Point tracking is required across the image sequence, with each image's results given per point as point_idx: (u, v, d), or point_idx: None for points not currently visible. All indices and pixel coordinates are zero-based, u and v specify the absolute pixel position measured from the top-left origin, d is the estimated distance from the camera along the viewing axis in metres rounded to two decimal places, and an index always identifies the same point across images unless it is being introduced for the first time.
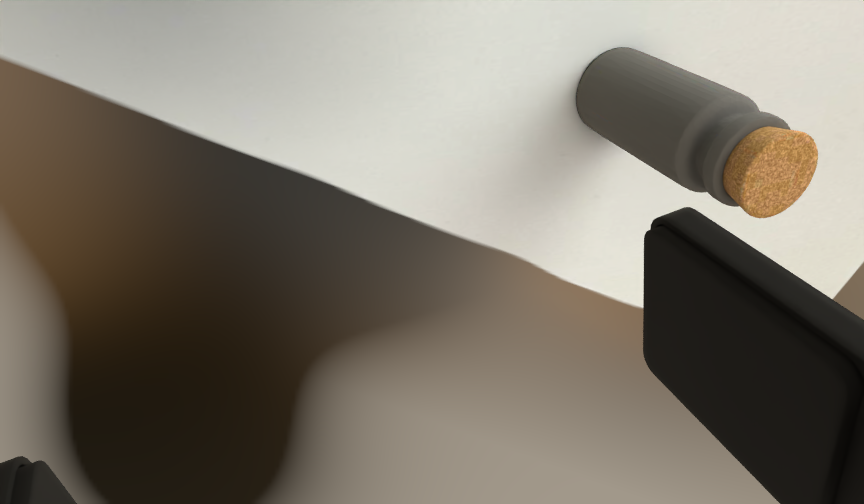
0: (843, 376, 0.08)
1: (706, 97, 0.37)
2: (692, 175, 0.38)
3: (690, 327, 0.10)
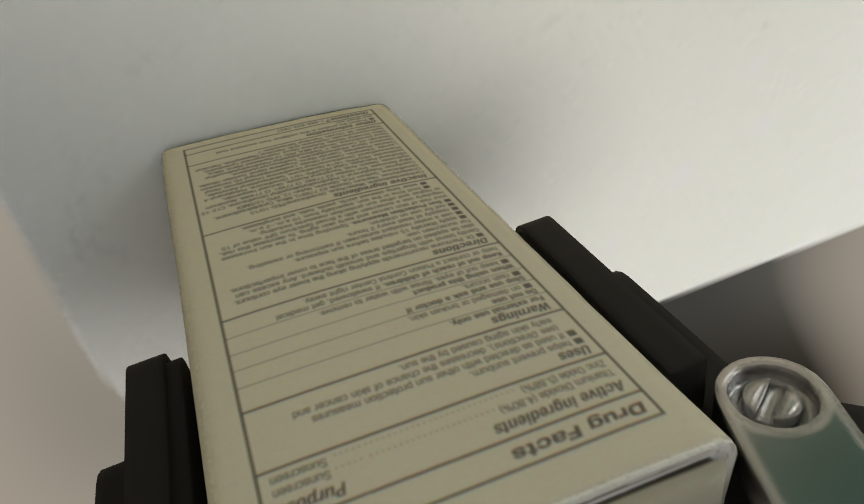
0: None
1: None
2: None
3: None
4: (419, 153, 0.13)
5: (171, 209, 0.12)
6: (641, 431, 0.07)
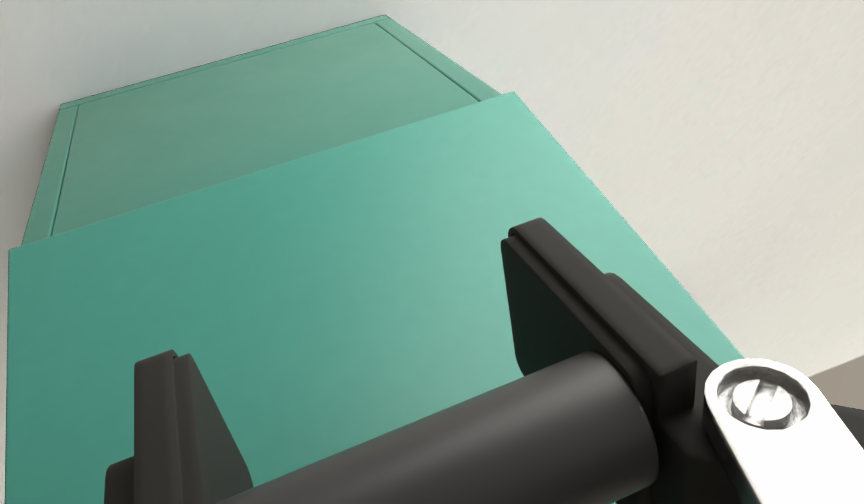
0: (634, 380, 0.08)
1: None
2: None
3: (539, 332, 0.11)
4: None
5: None
6: None
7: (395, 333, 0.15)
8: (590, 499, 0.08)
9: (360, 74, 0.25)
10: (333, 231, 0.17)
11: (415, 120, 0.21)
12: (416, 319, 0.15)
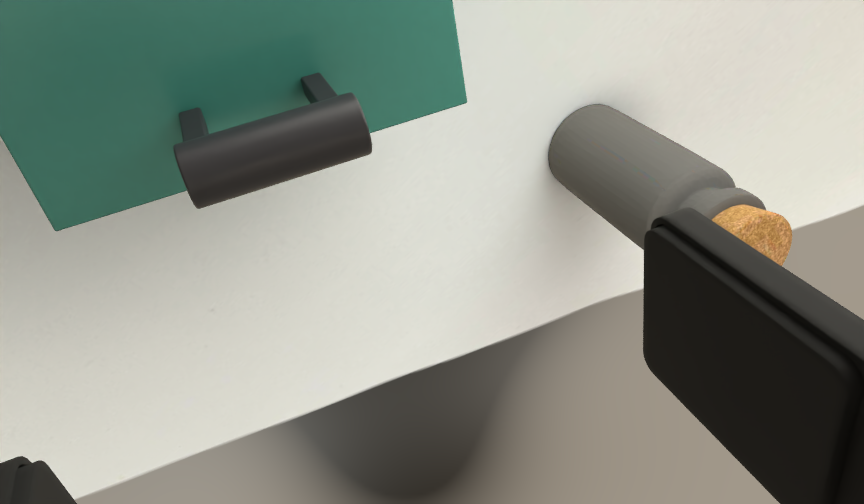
0: (843, 376, 0.08)
1: (649, 195, 0.36)
2: None
3: (690, 327, 0.10)
4: None
5: None
6: None
7: None
8: None
9: None
10: None
11: None
12: None
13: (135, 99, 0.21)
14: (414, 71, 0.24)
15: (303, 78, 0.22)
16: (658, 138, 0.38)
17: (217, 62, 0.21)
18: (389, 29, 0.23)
